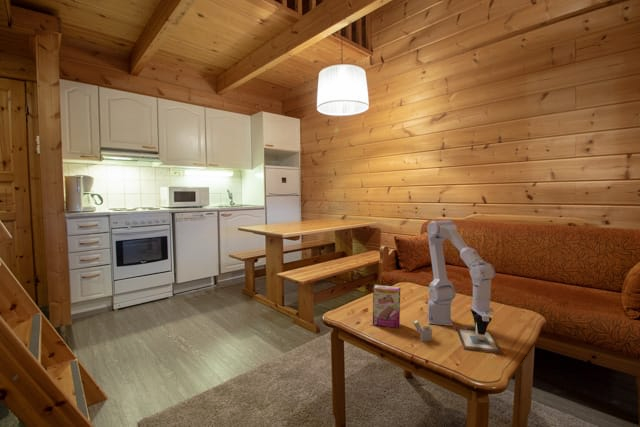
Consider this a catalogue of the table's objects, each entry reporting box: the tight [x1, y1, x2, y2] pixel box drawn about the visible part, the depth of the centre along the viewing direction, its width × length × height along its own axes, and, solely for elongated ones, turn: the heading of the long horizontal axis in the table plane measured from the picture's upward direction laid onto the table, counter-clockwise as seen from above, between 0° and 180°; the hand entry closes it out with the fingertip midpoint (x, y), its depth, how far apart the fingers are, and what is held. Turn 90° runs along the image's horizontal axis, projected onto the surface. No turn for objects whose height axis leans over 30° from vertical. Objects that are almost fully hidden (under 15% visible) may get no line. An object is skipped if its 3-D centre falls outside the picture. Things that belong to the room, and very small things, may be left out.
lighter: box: [412, 319, 433, 342], centre depth 114 cm, size 7×2×8 cm, turn 100°
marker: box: [476, 314, 485, 340], centre depth 111 cm, size 3×3×8 cm
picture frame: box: [455, 325, 502, 354], centre depth 113 cm, size 12×16×2 cm
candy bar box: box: [372, 284, 401, 329], centre depth 127 cm, size 11×5×16 cm, turn 74°
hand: (480, 331), depth 111 cm, fingers closed on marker, 3 cm apart
